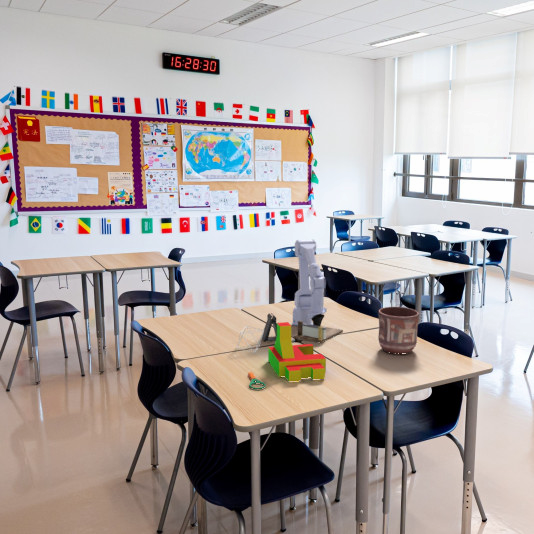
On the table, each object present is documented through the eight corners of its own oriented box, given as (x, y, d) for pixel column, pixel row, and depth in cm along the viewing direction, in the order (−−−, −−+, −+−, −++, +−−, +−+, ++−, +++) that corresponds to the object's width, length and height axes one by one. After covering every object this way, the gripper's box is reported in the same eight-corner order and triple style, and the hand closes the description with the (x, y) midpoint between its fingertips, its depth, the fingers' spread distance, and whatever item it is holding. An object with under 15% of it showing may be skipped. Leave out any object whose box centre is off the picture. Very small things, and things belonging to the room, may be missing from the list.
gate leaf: (302, 335, 271) (302, 324, 270) (304, 334, 272) (304, 323, 271) (323, 339, 264) (324, 328, 263) (325, 338, 265) (326, 327, 264)
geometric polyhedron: (266, 352, 251) (266, 332, 249) (242, 354, 247) (242, 334, 246) (257, 343, 262) (257, 324, 261) (234, 346, 259) (234, 326, 258)
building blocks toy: (283, 384, 215) (283, 337, 211) (268, 362, 239) (268, 319, 235) (330, 380, 219) (331, 334, 216) (311, 358, 243) (312, 317, 240)
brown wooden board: (293, 337, 271) (293, 322, 270) (316, 327, 289) (316, 312, 288) (320, 343, 263) (321, 327, 261) (342, 331, 281) (343, 317, 279)
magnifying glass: (267, 390, 209) (267, 386, 209) (251, 391, 208) (251, 387, 207) (258, 375, 224) (258, 371, 223) (242, 377, 222) (242, 372, 222)
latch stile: (318, 340, 264) (318, 326, 263) (319, 339, 265) (319, 326, 264) (321, 340, 263) (321, 327, 262) (322, 340, 264) (322, 326, 263)
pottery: (368, 350, 253) (370, 311, 249) (390, 341, 265) (392, 304, 261) (403, 360, 240) (405, 319, 237) (424, 350, 253) (427, 311, 249)
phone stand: (279, 336, 273) (279, 312, 270) (282, 340, 267) (282, 315, 265) (261, 338, 271) (261, 313, 269) (263, 341, 265) (263, 316, 263)
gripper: (317, 306, 263) (316, 334, 265) (332, 300, 274) (331, 327, 277) (304, 303, 267) (303, 331, 269) (319, 298, 278) (319, 324, 281)
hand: (317, 329), depth 273 cm, fingers closed
